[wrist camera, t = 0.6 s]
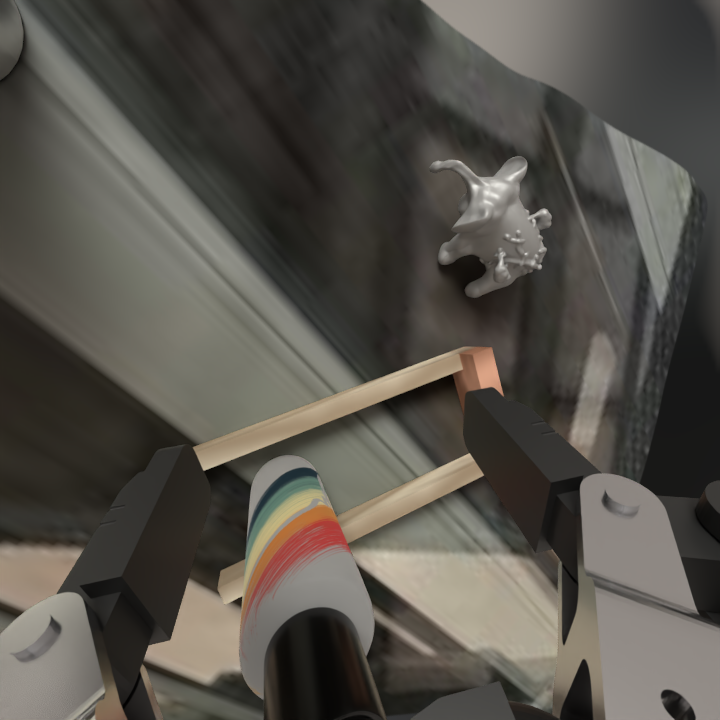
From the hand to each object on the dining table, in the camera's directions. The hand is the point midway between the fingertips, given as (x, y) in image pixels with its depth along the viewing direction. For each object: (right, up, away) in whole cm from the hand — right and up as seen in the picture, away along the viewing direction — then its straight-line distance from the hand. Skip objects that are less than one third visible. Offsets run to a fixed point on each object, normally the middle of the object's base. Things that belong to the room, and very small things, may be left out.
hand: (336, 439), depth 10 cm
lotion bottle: (-6, -8, +18) cm, 21 cm away
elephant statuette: (+10, +14, +22) cm, 28 cm away
